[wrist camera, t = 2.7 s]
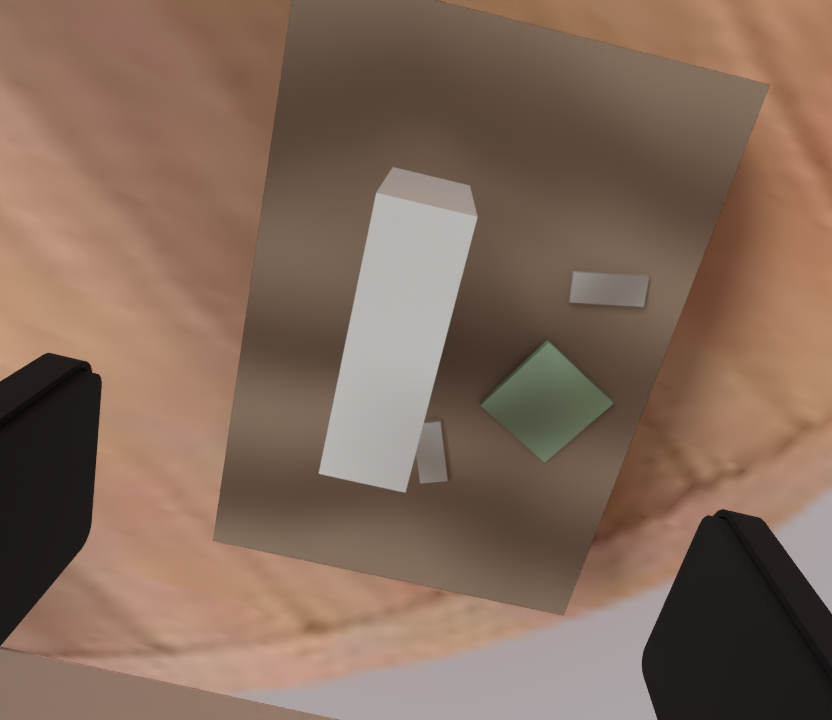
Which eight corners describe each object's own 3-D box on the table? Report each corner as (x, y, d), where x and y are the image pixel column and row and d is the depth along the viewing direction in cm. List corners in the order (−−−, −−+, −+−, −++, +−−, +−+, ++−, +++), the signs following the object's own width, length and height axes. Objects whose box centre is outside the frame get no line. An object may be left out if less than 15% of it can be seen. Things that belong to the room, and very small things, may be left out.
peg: (397, 159, 21) (376, 192, 15) (467, 176, 21) (477, 217, 15) (336, 446, 25) (298, 573, 18) (396, 459, 25) (379, 590, 19)
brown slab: (325, -13, 24) (294, -38, 19) (709, 84, 25) (774, 84, 20) (247, 474, 32) (210, 545, 27) (546, 539, 32) (564, 620, 27)
